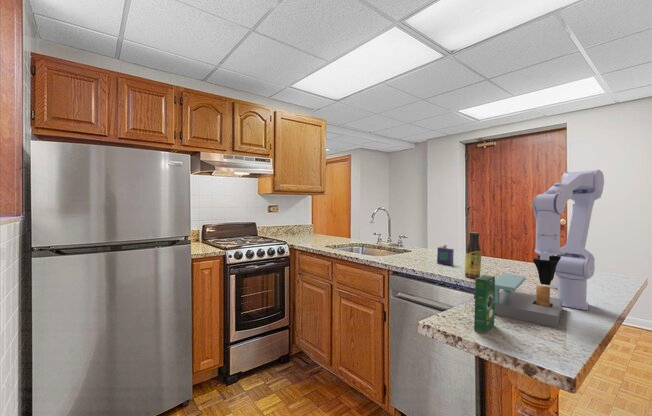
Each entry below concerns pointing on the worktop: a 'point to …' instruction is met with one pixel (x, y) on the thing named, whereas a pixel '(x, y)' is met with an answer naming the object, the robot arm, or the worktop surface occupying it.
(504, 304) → the socket stand
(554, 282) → the white cube
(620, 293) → the worktop surface
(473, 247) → the sauce bottle
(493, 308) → the coffee box
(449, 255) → the flask
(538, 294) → the peg
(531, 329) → the worktop surface
